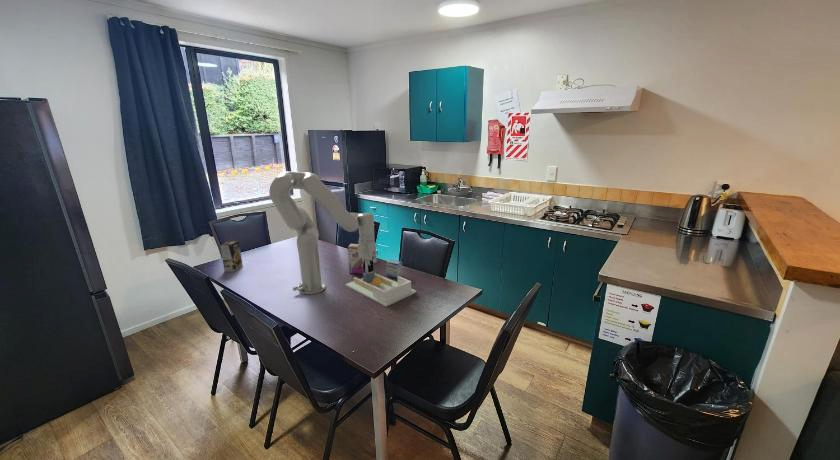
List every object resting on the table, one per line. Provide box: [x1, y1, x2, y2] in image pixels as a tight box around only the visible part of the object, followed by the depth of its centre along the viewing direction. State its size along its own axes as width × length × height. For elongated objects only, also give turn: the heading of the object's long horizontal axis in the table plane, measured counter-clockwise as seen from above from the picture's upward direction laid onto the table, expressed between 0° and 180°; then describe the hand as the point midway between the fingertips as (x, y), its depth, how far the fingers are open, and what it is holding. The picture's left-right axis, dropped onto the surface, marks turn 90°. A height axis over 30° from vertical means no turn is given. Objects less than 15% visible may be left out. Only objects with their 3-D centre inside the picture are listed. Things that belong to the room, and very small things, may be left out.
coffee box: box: [219, 240, 243, 273], centre depth 200 cm, size 9×6×16 cm
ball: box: [372, 277, 381, 286], centre depth 177 cm, size 4×4×4 cm
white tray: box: [345, 272, 417, 308], centre depth 175 cm, size 20×32×6 cm, turn 46°
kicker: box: [362, 260, 375, 283], centre depth 179 cm, size 6×3×15 cm, turn 136°
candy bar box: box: [347, 243, 366, 275], centre depth 194 cm, size 11×5×16 cm, turn 84°
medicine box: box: [385, 259, 403, 279], centre depth 190 cm, size 8×4×9 cm, turn 62°
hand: (368, 270), depth 180 cm, fingers closed on kicker, 3 cm apart
